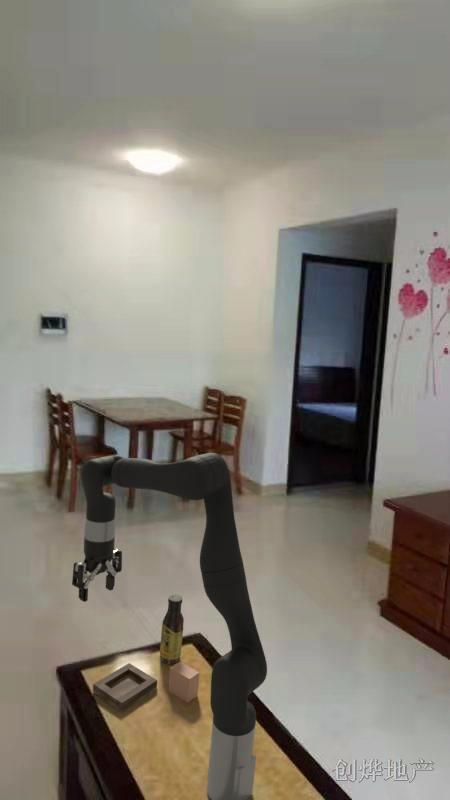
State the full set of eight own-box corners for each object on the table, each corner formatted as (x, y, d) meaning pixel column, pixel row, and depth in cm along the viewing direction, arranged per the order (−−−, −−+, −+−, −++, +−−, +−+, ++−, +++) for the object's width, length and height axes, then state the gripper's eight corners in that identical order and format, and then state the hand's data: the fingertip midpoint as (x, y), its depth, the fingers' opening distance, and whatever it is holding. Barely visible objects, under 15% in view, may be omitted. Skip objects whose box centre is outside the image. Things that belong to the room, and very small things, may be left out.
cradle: (156, 688, 166) (157, 680, 165) (121, 711, 156) (121, 703, 155) (128, 671, 172) (129, 663, 172) (92, 692, 162) (93, 683, 162)
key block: (197, 695, 164) (199, 672, 163) (187, 702, 161) (189, 679, 160) (178, 684, 168) (180, 661, 167) (168, 691, 165) (170, 667, 164)
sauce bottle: (156, 654, 181) (160, 592, 178) (176, 651, 184) (180, 590, 180) (163, 667, 175) (168, 603, 172) (184, 663, 178) (188, 600, 174)
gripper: (87, 547, 144) (84, 610, 147) (130, 531, 155) (127, 590, 158) (67, 537, 149) (64, 599, 151) (111, 523, 160) (108, 580, 163)
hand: (96, 594), depth 155 cm, fingers open, 8 cm apart
